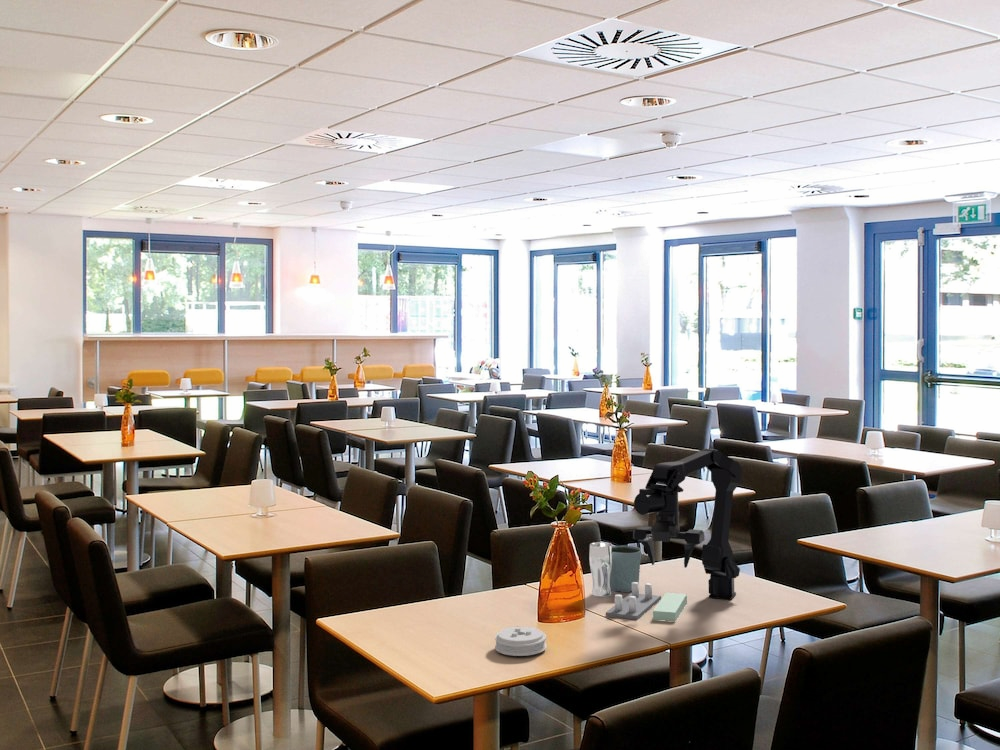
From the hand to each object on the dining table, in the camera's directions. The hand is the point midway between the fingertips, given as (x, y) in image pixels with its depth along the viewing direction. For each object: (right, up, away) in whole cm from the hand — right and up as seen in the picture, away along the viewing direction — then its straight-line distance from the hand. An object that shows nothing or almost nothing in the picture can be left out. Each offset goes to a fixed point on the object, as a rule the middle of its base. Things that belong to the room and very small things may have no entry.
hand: (669, 565), depth 254 cm
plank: (0, -13, 0) cm, 13 cm away
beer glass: (-16, -13, +19) cm, 28 cm away
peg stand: (-9, -13, +5) cm, 16 cm away
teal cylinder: (-9, -12, +25) cm, 29 cm away
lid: (-41, -15, -27) cm, 52 cm away
